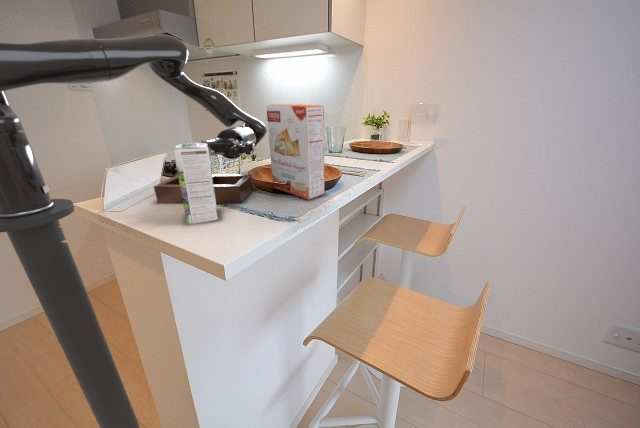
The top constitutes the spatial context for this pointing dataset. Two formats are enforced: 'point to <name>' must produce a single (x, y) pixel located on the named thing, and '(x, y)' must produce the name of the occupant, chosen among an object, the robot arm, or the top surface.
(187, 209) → the syrup box
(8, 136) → the robot arm
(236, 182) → the wooden serving tray
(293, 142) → the cracker box
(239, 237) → the top surface
